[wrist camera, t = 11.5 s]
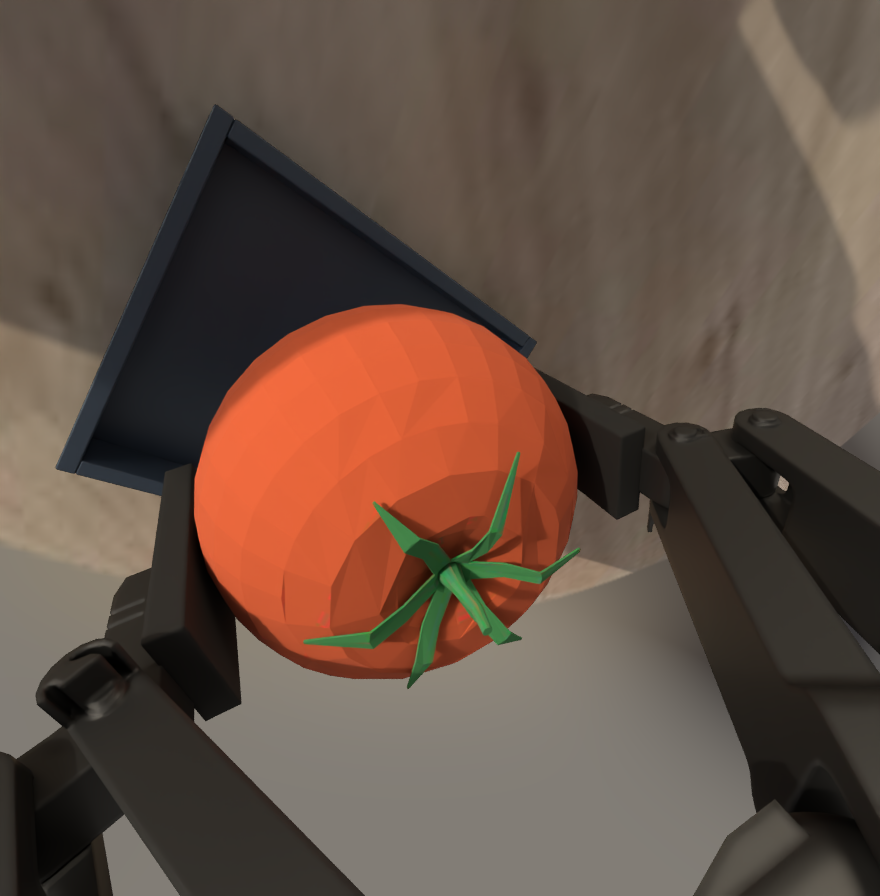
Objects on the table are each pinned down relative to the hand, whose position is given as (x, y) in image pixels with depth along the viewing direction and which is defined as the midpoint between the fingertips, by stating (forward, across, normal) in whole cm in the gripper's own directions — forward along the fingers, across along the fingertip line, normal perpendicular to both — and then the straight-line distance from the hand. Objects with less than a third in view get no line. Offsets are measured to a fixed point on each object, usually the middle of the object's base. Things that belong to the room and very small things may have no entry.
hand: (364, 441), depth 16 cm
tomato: (+2, 0, 0) cm, 2 cm away
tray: (+7, 0, 0) cm, 7 cm away
